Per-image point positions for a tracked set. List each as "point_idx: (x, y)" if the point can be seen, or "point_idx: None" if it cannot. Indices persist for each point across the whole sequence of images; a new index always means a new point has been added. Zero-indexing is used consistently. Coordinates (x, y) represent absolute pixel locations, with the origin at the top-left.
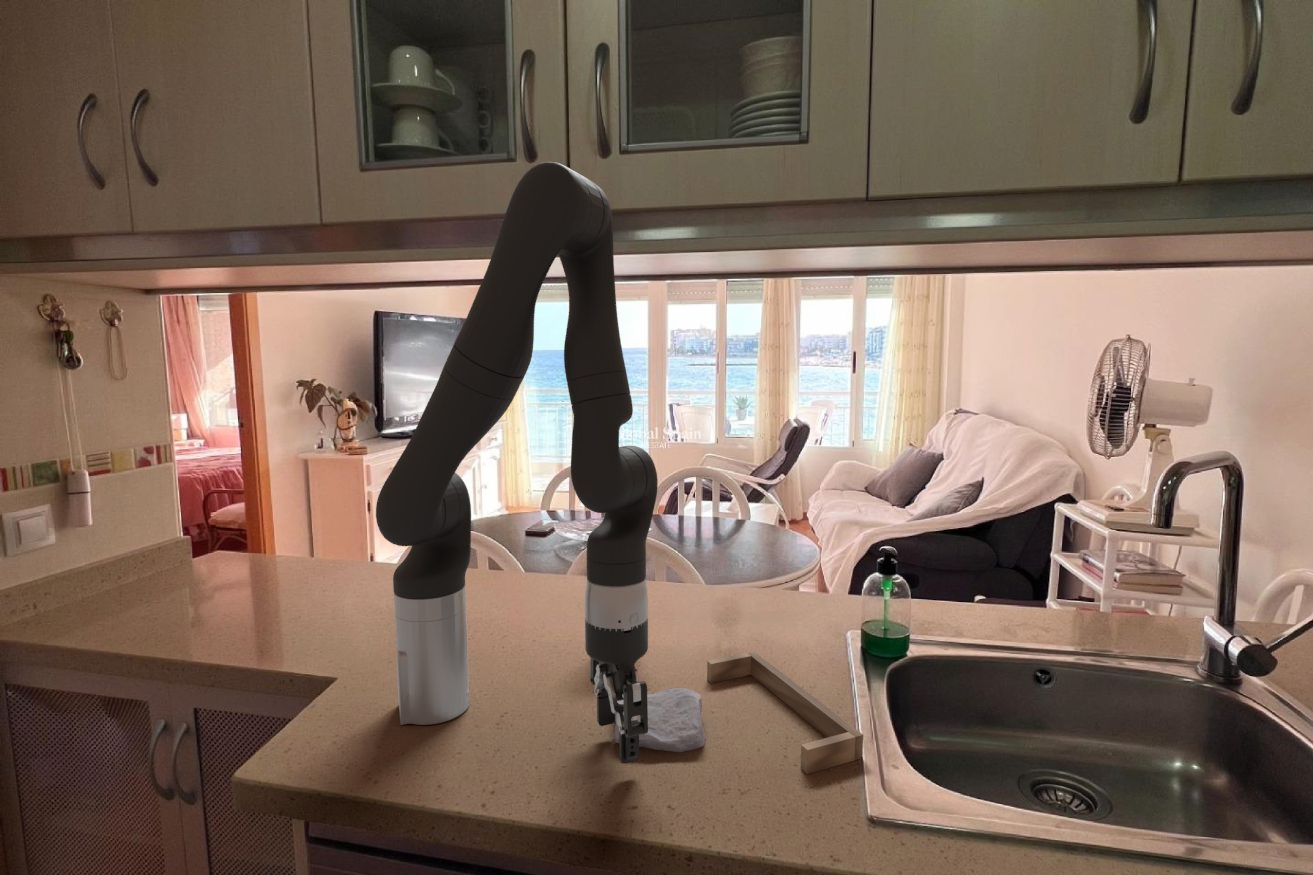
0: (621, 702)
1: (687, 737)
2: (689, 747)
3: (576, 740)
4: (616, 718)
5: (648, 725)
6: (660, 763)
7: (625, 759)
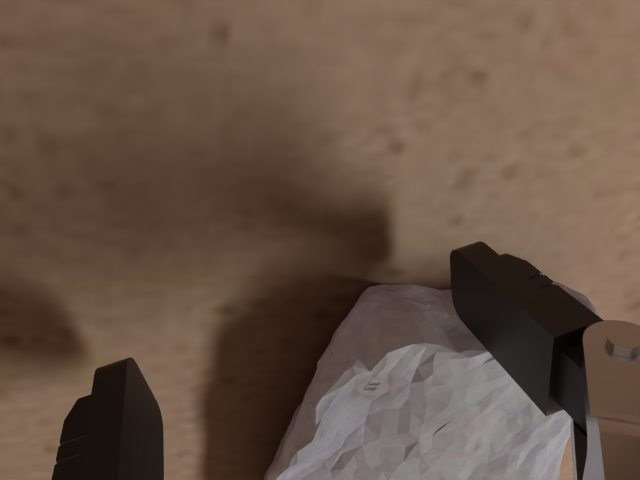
0: None
1: None
2: None
3: (439, 110)
4: None
5: (357, 458)
6: (199, 436)
7: (86, 398)
